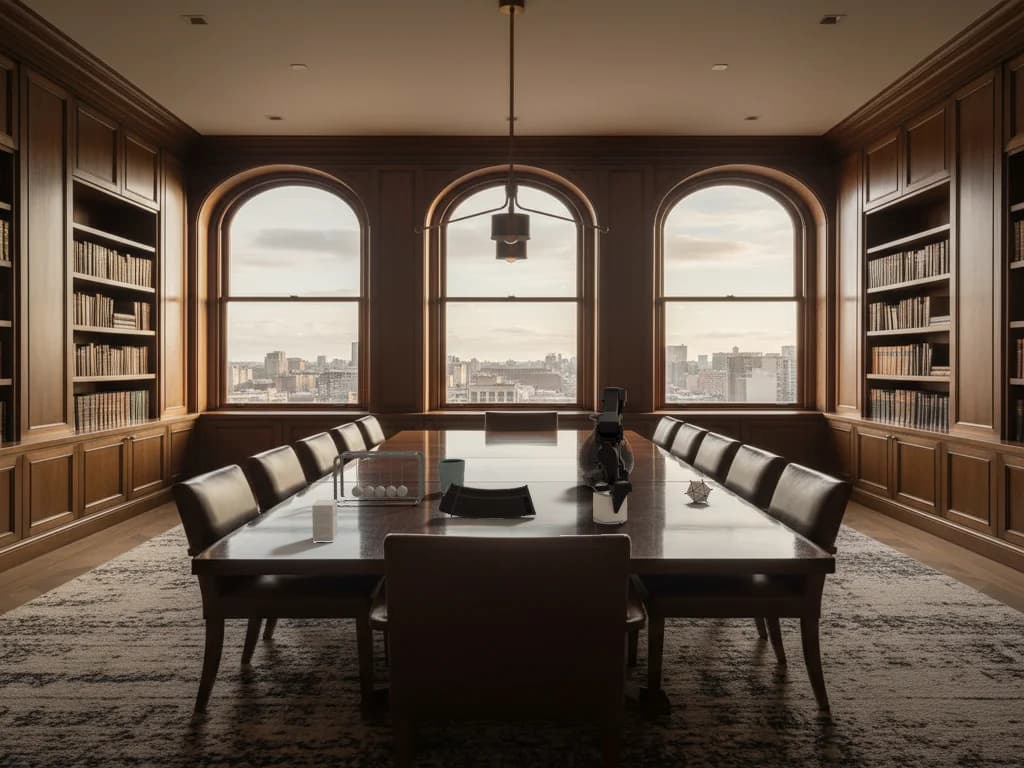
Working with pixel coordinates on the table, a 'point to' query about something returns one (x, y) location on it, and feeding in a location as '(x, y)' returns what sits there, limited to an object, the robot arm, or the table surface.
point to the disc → (607, 522)
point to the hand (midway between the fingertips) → (609, 510)
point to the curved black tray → (487, 502)
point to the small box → (324, 520)
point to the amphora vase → (591, 449)
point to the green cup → (451, 472)
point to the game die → (698, 491)
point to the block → (607, 508)
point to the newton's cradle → (380, 490)
